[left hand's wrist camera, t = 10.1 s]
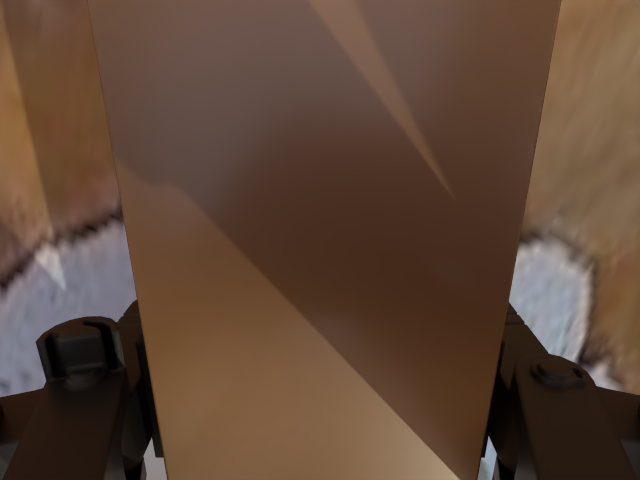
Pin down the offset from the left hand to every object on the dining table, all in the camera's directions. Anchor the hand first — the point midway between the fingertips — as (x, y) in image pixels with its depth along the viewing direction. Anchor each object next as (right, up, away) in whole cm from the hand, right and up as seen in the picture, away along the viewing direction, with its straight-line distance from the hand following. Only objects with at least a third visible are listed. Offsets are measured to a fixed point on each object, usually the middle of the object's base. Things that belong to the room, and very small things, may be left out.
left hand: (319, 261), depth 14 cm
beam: (0, -16, +7) cm, 18 cm away
